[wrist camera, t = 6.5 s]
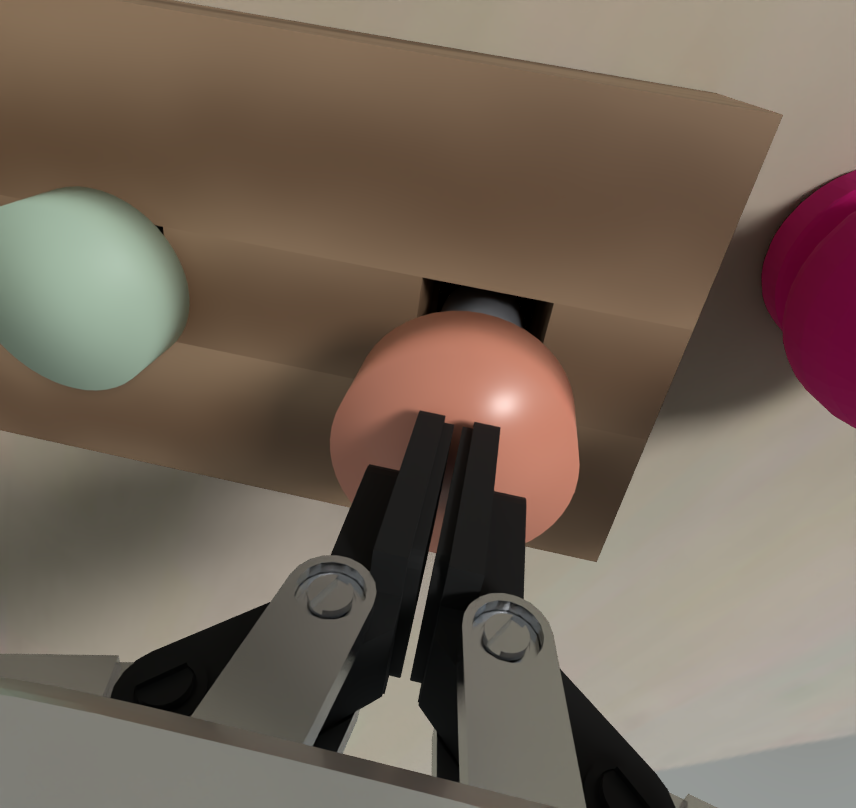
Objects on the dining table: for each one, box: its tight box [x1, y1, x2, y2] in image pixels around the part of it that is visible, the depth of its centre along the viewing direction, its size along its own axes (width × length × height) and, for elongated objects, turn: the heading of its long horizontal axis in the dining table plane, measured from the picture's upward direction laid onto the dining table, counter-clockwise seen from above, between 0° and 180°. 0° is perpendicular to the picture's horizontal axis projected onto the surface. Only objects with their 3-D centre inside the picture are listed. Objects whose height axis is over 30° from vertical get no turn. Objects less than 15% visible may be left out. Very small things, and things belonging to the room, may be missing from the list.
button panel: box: [0, 0, 783, 562], centre depth 20 cm, size 14×22×6 cm, turn 82°
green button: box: [0, 186, 190, 390], centre depth 19 cm, size 5×5×8 cm
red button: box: [330, 285, 580, 553], centre depth 16 cm, size 5×5×8 cm
